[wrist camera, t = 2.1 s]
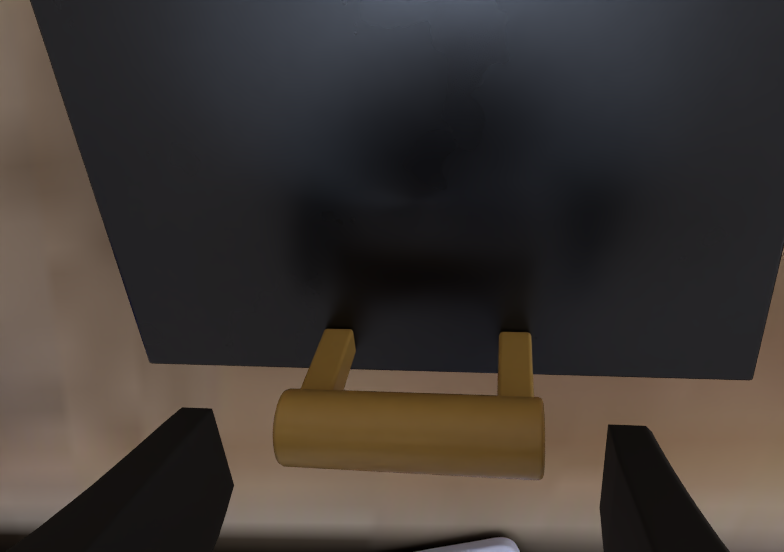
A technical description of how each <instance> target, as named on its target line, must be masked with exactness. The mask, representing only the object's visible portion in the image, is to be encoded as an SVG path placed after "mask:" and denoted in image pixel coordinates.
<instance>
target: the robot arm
mask: <svg viewBox="0 0 784 552" xmlns="http://www.w3.org/2000/svg"><path fill="white" fill-rule="evenodd" d="M233 487H234V484H233V480H232V477H231V473H230V470H229V466H228V463H227V459H226V456H225V452H224V449H223V445H222V442H221V438H220V435H219V431H218V428H217V424H216V421H215V417H214V414H213V410H212V409H208V408H183V407H182V408H181V409H180V410H179V411H177V412H176V413H175V414H174V415H172V416H171V417H170V418H169V419H168V420H167V421H165V422H164V423H163V424H162V425H161V426H160V427H159V428H157V429H156V430H155V431H154V432H153V433H152V434H151V435H149V436H148V437H147V438H146V439H145V440H144V441H143V442H141V443H140V444H139V445H138V446H137V447H136V448H135V449H134V450H132V451H131V452H130V453H129V454H128V455H127V456H125V457H124V458H123V459H122V460H121V461H120V462H118V463H117V464H116V465H115V466H114V467H113V468H112V469H110V470H109V471H108V472H107V473H106V474H105V475H103V476H102V477H101V478H100V479H99V480H98V481H96V482H95V483H94V484H93V485H92V486H90V487H89V488H88V489H87V490H85V491H84V492H83V493H82V494H80V495H79V496H78V497H77V498H75V499H74V500H73V501H72V502H70V503H69V504H68V505H67V506H65V507H64V508H63V509H62V510H60V511H59V512H58V513H57V514H55V515H54V516H53V517H52V518H50V519H49V520H48V521H46V522H45V523H44V524H43V525H41V526H40V527H39V528H37V529H36V530H35V531H33V532H32V533H31V534H29V535H28V536H27V537H25V538H24V539H22V540H21V541H20V542H18V543H17V544H16V545H14V546H13V547H11V548H10V549H8V550H7V551H5V552H212V550H213V548H214V546H215V544H216V541H217V539H218V536H219V533H220V530H221V527H222V524H223V521H224V518H225V515H226V511H227V508H228V504H229V501H230V497H231V494H232V491H233ZM600 516H601V527H602V539H603V549H604V552H729V550H728V549H727V548H726V546H725V545H724V544H723V542H722V541H721V540H720V538H719V537H718V535H717V534H716V532H715V531H714V530H713V528H712V527H711V525H710V524H709V523H708V521H707V520H706V518H705V517H704V515H703V514H702V513H701V511H700V510H699V508H698V507H697V505H696V504H695V502H694V501H693V499H692V498H691V496H690V495H689V493H688V492H687V490H686V489H685V487H684V486H683V484H682V483H681V481H680V479H679V478H678V476H677V475H676V473H675V471H674V470H673V468H672V467H671V465H670V463H669V462H668V460H667V458H666V456H665V455H664V453H663V451H662V450H661V448H660V446H659V444H658V442H657V441H656V439H655V437H654V435H653V433H652V431H650V430H649V429H648V428H647V427H646V426H632V425H608V432H607V442H606V451H605V461H604V471H603V481H602V490H601V500H600ZM415 552H520V551H519V549H518V547H517V545H516V544H515V542H514V541H512V540H510V539H509V538H505V537H496V538H491V539H485V540H479V541H473V542H467V543H461V544H456V545H450V546H444V547H438V548H432V549H426V550H421V551H415Z"/></svg>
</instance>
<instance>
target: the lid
mask: <svg viewBox="0 0 784 552" xmlns="http://www.w3.org/2000/svg"><path fill="white" fill-rule="evenodd" d="M30 2H31V5H32V8H33V11H34V14H35V17H36V20H37V23H38V26H39V29H40V32H41V35H42V38H43V41H44V44H45V47H46V50H47V53H48V56H49V59H50V62H51V65H52V68H53V71H54V74H55V77H56V80H57V83H58V86H59V89H60V92H61V96H62V99H63V102H64V105H65V108H66V111H67V114H68V117H69V120H70V123H71V126H72V129H73V132H74V135H75V138H76V141H77V144H78V147H79V150H80V153H81V156H82V159H83V162H84V165H85V168H86V171H87V174H88V177H89V180H90V183H91V186H92V189H93V193H94V196H95V199H96V202H97V205H98V208H99V211H100V214H101V217H102V220H103V223H104V226H105V229H106V232H107V235H108V238H109V241H110V244H111V247H112V250H113V253H114V256H115V259H116V262H117V265H118V268H119V271H120V274H121V277H122V280H123V283H124V286H125V290H126V293H127V296H128V299H129V302H130V305H131V308H132V311H133V314H134V317H135V320H136V323H137V326H138V329H139V332H140V335H141V338H142V341H143V344H144V347H145V350H146V353H147V356H148V359H149V362H150V363H156V364H191V365H227V366H262V367H297V368H309V370H308V372H307V375H306V377H305V379H304V382H303V384H302V387H301V389H288V390H286V391H284V392H283V393H282V395H281V397H280V399H279V401H278V404H277V408H276V411H275V416H274V423H273V446H274V452H275V456H276V459H277V461H278V463H279V464H281V465H283V466H286V467H304V468H322V469H341V470H359V471H377V472H396V473H414V474H432V475H451V476H469V477H487V478H506V479H524V480H540V479H542V478H543V475H544V467H545V418H544V404H543V401H542V399H541V398H539V397H534V388H533V374H545V375H580V376H616V377H651V378H686V379H722V380H752V379H753V376H754V371H755V367H756V363H757V358H758V354H759V350H760V346H761V341H762V337H763V333H764V328H765V324H766V320H767V316H768V311H769V307H770V303H771V298H772V294H773V290H774V286H775V281H776V277H777V273H778V268H779V264H780V260H781V256H782V251H783V247H784V0H30ZM350 369H368V370H403V371H439V372H474V373H498V392H497V396H493V395H463V394H434V393H404V392H375V391H345V390H344V387H345V383H346V380H347V377H348V374H349V371H350Z"/></svg>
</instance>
